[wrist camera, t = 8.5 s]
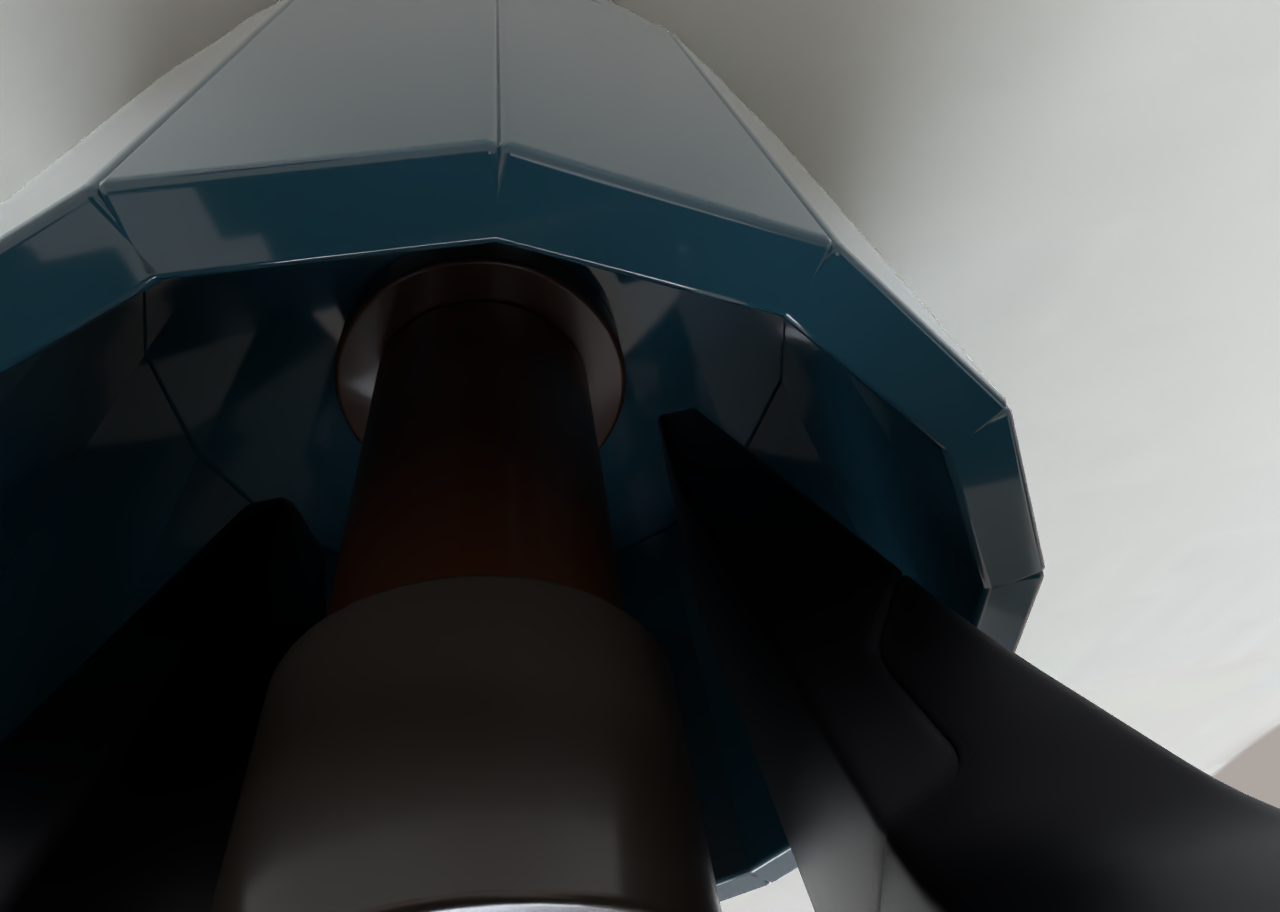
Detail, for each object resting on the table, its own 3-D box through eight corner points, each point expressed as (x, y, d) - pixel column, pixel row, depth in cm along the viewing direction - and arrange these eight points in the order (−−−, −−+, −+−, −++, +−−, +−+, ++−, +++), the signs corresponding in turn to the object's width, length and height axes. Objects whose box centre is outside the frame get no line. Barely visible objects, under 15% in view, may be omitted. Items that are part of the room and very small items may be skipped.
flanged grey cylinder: (515, 508, 12) (532, 1126, 6) (287, 391, 10) (33, 1102, 5) (675, 343, 11) (881, 947, 5) (443, 174, 9) (355, 812, 3)
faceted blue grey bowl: (547, 637, 15) (571, 1005, 10) (2, 403, 11) (-382, 864, 6) (933, 289, 12) (1230, 613, 7) (358, -283, 7) (93, -467, 2)
